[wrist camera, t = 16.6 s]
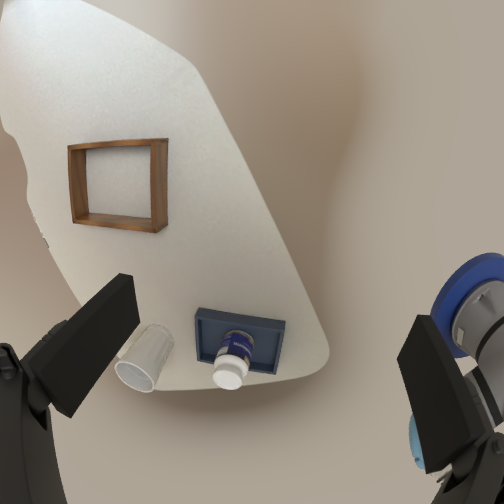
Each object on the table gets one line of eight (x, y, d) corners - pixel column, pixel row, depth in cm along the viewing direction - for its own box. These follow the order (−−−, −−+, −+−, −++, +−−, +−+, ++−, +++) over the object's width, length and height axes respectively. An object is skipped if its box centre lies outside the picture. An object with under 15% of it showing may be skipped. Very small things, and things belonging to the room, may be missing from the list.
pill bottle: (261, 342, 48) (252, 383, 39) (240, 356, 50) (229, 396, 41) (237, 323, 47) (224, 363, 38) (217, 338, 49) (202, 377, 40)
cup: (136, 331, 53) (108, 368, 42) (155, 315, 50) (126, 355, 40) (163, 356, 55) (140, 396, 44) (185, 342, 52) (162, 386, 41)
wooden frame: (168, 138, 37) (155, 138, 33) (167, 224, 42) (156, 233, 39) (82, 143, 39) (67, 145, 35) (86, 216, 44) (72, 223, 41)
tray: (285, 321, 46) (284, 330, 44) (277, 365, 51) (275, 374, 48) (198, 307, 48) (194, 315, 45) (200, 352, 52) (197, 360, 50)
